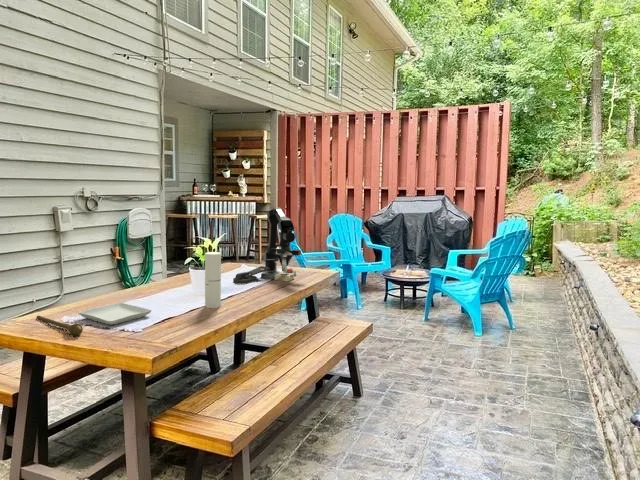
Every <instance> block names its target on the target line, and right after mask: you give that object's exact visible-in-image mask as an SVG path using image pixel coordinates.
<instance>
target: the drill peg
mask: <svg viewBox="0 0 640 480" xmlns="http://www.w3.org/2000/svg"><path fill="white" fill-rule="evenodd" d="M287 268H288V266H287V255H283V256H282V266H281V272H282V273H283V272H286V271H287Z"/></svg>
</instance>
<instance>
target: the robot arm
mask: <svg viewBox="0 0 640 480" xmlns="http://www.w3.org/2000/svg"><path fill="white" fill-rule="evenodd" d="M266 217H267V220H268V223H269V237H268V245H267V247H266V248H265V252H264V255H263V261H264V262H265V266H264V267H269V268H270V271H272V272H274V271H276V270H277V264H278V263H277V262H278V261H279V263H280V267H282V256H284V255H286V254H287V255H286V256H287V267H289V264H290V262H291V260H292V258H293V256H301V255H302V250H301V249H296V248H295V249H292V250H291V243H293V242H294V241H295V239H296V236H295V234H294V233H293V232H294V231H295V226H294V223H293V221H292V219H291V218H290V217H287V215H285V213H284V212H283V208H281V207H273V208H272V209H270V210H268V212H267V216H266ZM278 227H279V230H280V241H279V244H278V246H277V232H278V231H277V230H278ZM276 246H277V247H276ZM275 269H276V270H275ZM273 270H274V271H273Z"/></svg>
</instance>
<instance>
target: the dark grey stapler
mask: <svg viewBox="0 0 640 480" xmlns="http://www.w3.org/2000/svg"><path fill="white" fill-rule="evenodd" d="M269 270H270V268H269V267H265V266H262V265H261V266H258V267H256V268H253V269H251V270H249V271H245V272H244V271H243V272H238V273H236V274H235V277H234V278H233V277H232V279H233V281H232V283H234V284H237V283H241V284H240V285H243V284H242V283H246V284H249V282H250V283H253V282H252V281H254V282H257V281H258V276H256V275H257V274H261V273H264V272H266V271H269ZM256 280H257V281H256Z"/></svg>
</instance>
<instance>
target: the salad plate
mask: <svg viewBox="0 0 640 480" xmlns="http://www.w3.org/2000/svg"><path fill="white" fill-rule="evenodd" d="M151 313H152V309H150V308H144V307H141V306H137V305H132V304H128V303H125V302H117V303H114V304H113V303H112V304H107V305H103V306H98V307H97V306H96V307H92V308H89V309H85V310H81V311H78V312H77V314H78V315H80V316H81V317H83V318H85V319H87V320H91V321H93V320H94V321H93V322H97V321H98V322H97V323H100V322H101V324H104V323H105V325H109V326H111V325H112V326H113V324H114V325H118V323H119V324H122V323H125V321H126V322H129V320H130V321H133V320H137V319H140V318H143V317H146V316H147V315H149V314H151ZM136 318H137V319H136ZM132 319H133V320H132ZM121 322H122V323H121Z"/></svg>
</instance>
